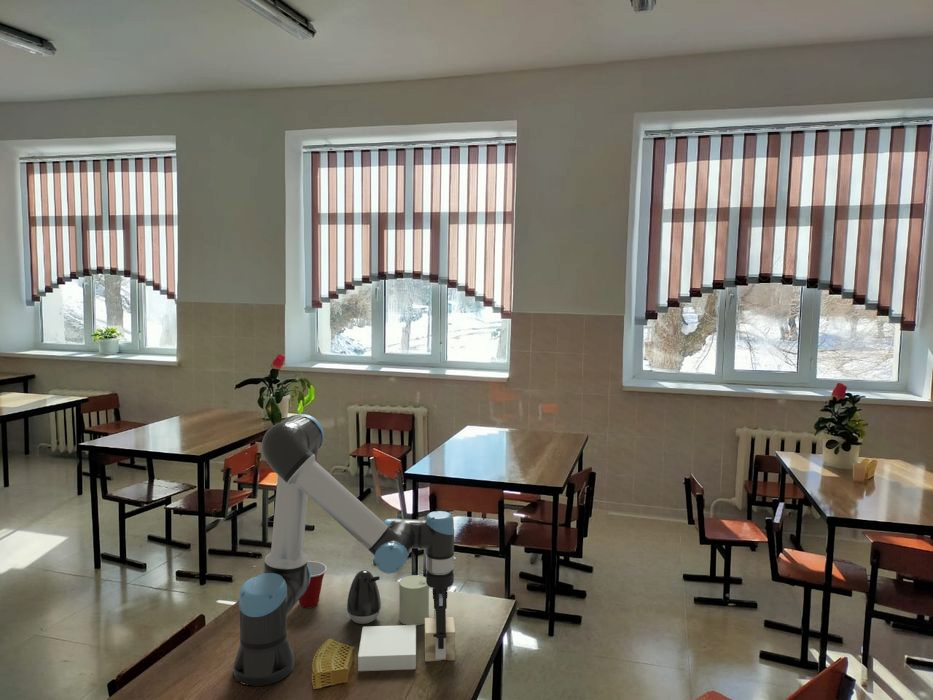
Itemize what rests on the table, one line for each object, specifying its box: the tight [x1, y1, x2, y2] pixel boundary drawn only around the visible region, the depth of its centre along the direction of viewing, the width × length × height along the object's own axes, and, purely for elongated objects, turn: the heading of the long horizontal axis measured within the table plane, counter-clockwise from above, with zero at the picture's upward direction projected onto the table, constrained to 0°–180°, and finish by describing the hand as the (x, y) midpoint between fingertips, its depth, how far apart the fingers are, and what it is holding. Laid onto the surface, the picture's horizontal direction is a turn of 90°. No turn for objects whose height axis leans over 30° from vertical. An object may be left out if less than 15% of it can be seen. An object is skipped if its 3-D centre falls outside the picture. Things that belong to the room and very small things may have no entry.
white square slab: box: [357, 624, 417, 672], centre depth 174 cm, size 15×15×4 cm
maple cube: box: [424, 616, 456, 662], centre depth 175 cm, size 8×8×8 cm
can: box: [398, 574, 430, 627], centre depth 193 cm, size 9×9×12 cm
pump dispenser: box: [346, 569, 382, 625], centre depth 191 cm, size 10×10×15 cm
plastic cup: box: [298, 560, 327, 609], centre depth 201 cm, size 11×11×12 cm
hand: (439, 645), depth 175 cm, fingers open, 12 cm apart
